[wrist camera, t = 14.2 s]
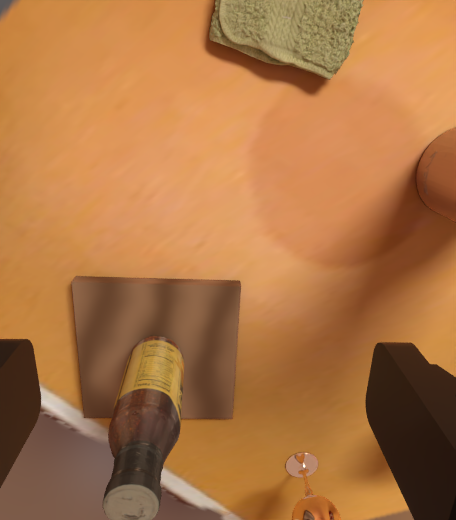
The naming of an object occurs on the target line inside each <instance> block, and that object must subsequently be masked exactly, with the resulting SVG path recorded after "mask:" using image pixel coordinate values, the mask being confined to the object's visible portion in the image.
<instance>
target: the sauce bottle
mask: <svg viewBox="0 0 456 520" xmlns="http://www.w3.org/2000/svg"><path fill="white" fill-rule="evenodd" d="M183 378H184V360H183V355H182V353H181V350H180V348H179V347H178V346H177V345H176V343H175V342H173V341H172V340H170V339H168V338H165V337H160V336H149V337H147V338H145V339H143V340H142V341H140V342H139V343H138V344H137V345H135V347H134V348H133V350H132V352H131V354H130V356H129V359H128V362H127V365H126V368H125V371H124V375H123V378H122V382H121V385H120V389H119V392H118V396H117V399H116V402H115V406H114V409H113V413H112V420H111V424H110V428H109V433H108V438H109V444H110V448H111V451H112V454H113V457H114V458H115V460H114V469H113V473H112V477H111V479H110V482H109V483H108V485H107V488H106V491H105V494H104V499H103V509H104V512H105V514H106V515H107V517H108V518H109V519H110V520H152V519H153V518H154V517H155V516H156V514H157V513H158V510H159V506H160V499H161V486H160V480H161V471H162V469H163V464H164V462H165V460H166V458H167V456H168V455H169V453H170V451H171V450H172V448H173V447H174V445H175V443H176V442H177V440H178V438H179V434H180V425H181V408H182V394H183Z"/></svg>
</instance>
